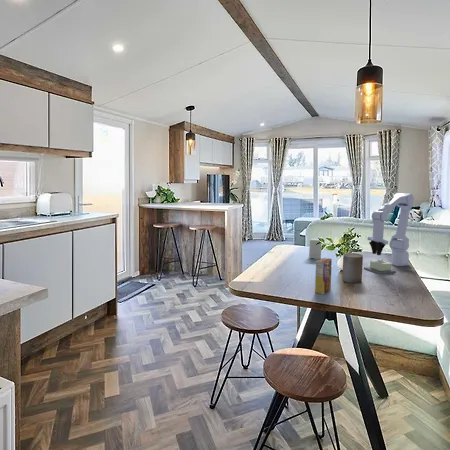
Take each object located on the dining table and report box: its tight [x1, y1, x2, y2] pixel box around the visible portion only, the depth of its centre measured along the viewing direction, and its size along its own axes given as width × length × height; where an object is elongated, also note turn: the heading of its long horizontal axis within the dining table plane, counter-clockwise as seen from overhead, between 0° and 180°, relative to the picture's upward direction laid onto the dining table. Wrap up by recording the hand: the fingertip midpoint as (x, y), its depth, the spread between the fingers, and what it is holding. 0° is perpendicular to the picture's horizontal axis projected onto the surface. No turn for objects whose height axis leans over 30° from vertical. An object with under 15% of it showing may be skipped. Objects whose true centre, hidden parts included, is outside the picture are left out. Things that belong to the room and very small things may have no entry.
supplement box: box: [308, 238, 322, 260], centre depth 240 cm, size 7×7×13 cm
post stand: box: [363, 258, 397, 275], centre depth 209 cm, size 12×12×6 cm
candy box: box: [314, 257, 333, 295], centre depth 170 cm, size 9×4×15 cm, turn 140°
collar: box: [369, 260, 392, 271], centre depth 209 cm, size 8×8×4 cm
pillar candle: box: [341, 252, 364, 284], centre depth 188 cm, size 10×10×15 cm
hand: (376, 254), depth 212 cm, fingers open, 3 cm apart
